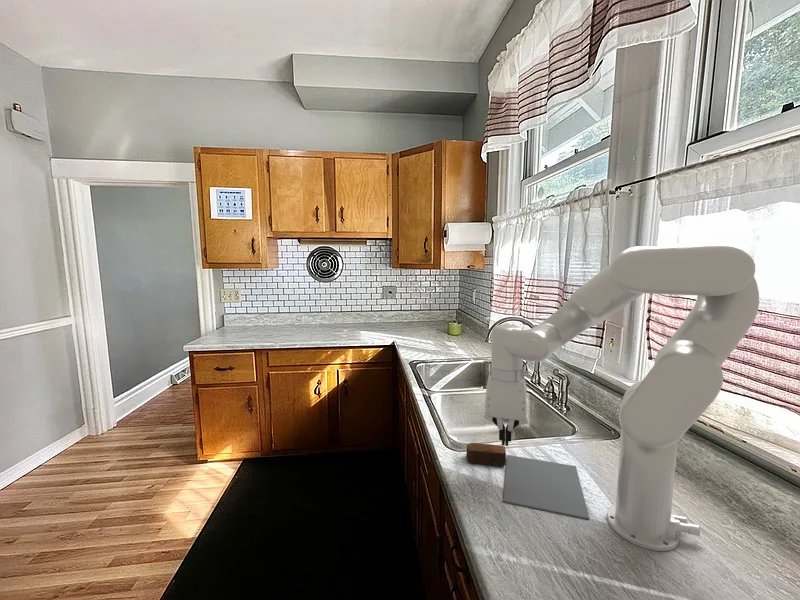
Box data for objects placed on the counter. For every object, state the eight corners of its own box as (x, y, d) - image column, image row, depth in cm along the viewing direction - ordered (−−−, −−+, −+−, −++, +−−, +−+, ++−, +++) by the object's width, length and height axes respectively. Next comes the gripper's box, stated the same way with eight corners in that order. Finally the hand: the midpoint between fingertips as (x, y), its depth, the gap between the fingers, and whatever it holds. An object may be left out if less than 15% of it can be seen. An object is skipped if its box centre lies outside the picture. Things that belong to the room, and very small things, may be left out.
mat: (575, 467, 98) (575, 466, 98) (589, 519, 78) (589, 518, 78) (507, 456, 104) (507, 454, 104) (503, 502, 84) (503, 500, 84)
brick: (505, 467, 97) (504, 458, 102) (506, 453, 97) (504, 445, 102) (466, 463, 100) (466, 454, 104) (466, 449, 99) (466, 441, 104)
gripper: (537, 372, 91) (535, 440, 93) (478, 367, 96) (477, 432, 98) (539, 381, 84) (536, 455, 86) (474, 375, 89) (473, 445, 91)
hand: (505, 443), depth 92 cm, fingers closed
